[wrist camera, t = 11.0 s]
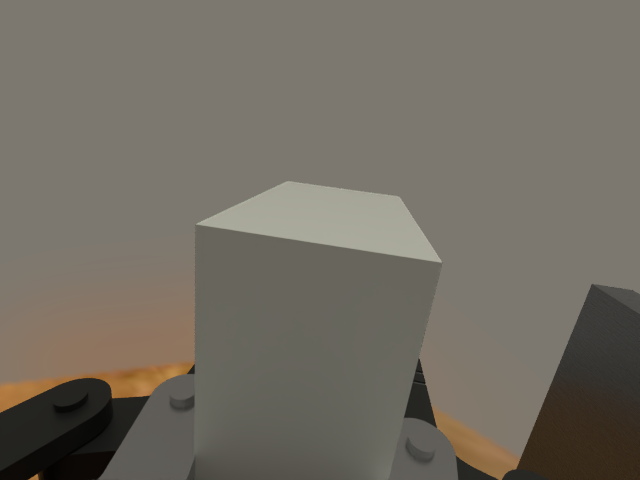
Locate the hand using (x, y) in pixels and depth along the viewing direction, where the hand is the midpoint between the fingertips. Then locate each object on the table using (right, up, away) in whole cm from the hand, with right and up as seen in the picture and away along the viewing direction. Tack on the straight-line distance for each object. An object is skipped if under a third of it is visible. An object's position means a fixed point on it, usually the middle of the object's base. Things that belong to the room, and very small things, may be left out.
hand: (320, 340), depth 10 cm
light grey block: (-1, -7, -1) cm, 8 cm away
